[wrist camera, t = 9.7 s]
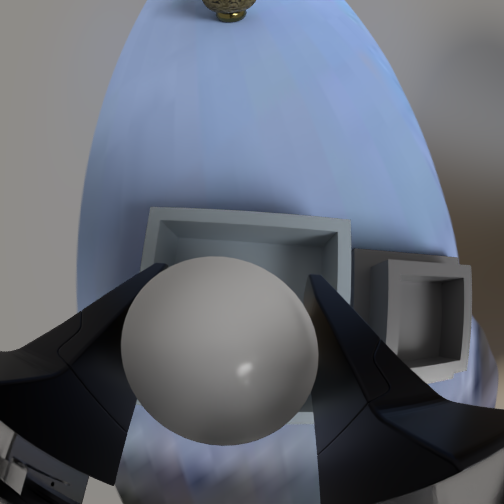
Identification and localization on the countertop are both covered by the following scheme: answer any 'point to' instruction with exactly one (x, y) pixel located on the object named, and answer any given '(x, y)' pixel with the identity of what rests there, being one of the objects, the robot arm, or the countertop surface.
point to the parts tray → (256, 248)
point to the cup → (229, 9)
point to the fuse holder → (416, 308)
